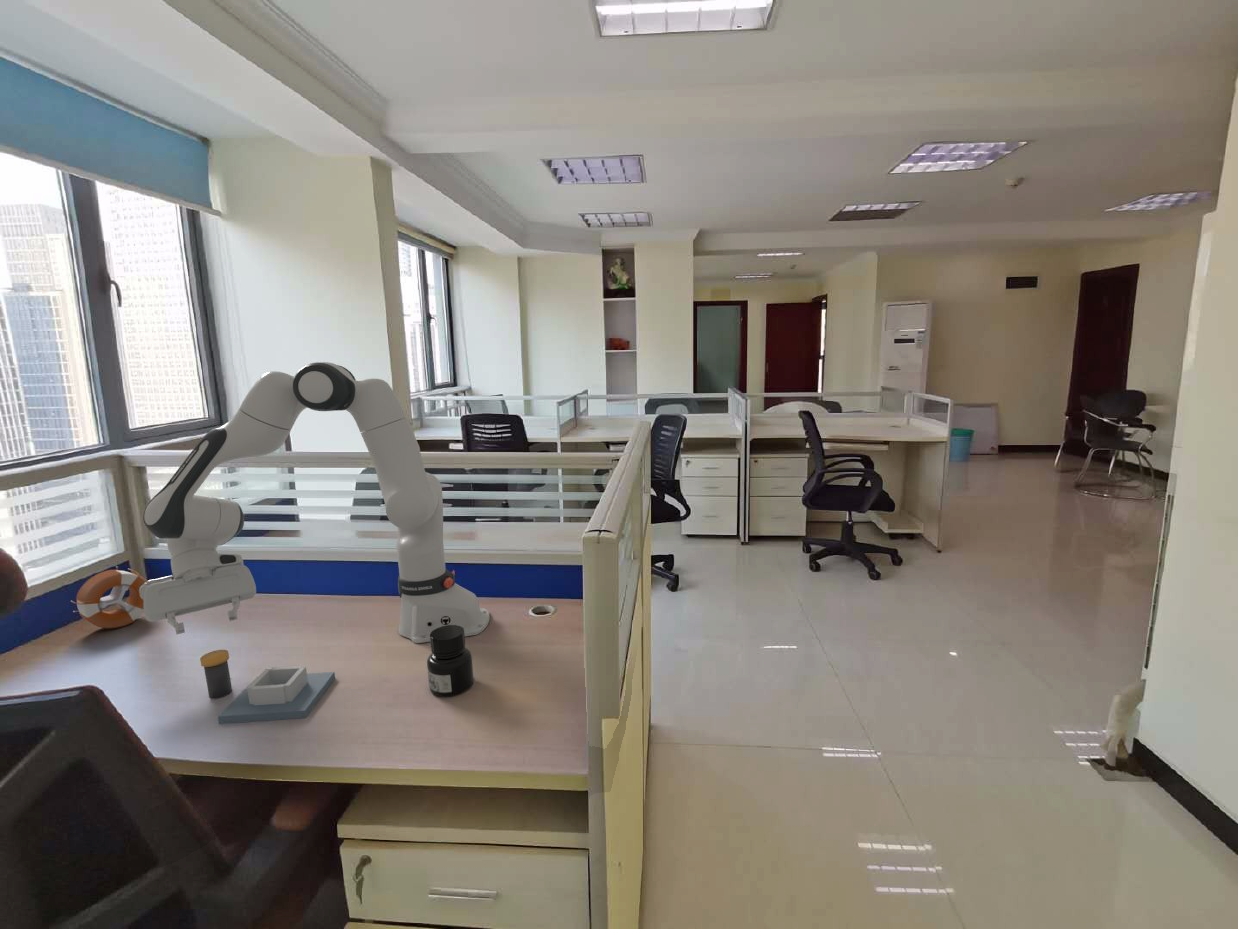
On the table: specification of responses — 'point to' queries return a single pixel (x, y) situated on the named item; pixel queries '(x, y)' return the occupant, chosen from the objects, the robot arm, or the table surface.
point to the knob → (217, 673)
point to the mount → (278, 695)
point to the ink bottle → (449, 662)
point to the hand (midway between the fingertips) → (207, 625)
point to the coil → (111, 598)
